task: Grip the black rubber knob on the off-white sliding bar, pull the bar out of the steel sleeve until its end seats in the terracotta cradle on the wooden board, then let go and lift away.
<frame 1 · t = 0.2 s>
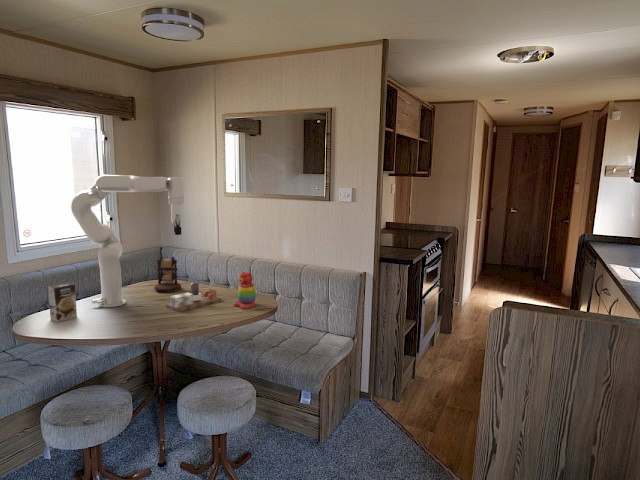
hand: (177, 233, 224), 37 cm above the table, tool pointing down, fingers open, 9 cm apart
stacking bear: (246, 306, 223), on the table
wooden spool holder: (168, 290, 250), on the table
wooden board: (194, 303, 224), on the table
slip tube: (187, 292, 221), point 7 cm above the table, slide at 0.0 cm
coffee box: (64, 318, 199), on the table
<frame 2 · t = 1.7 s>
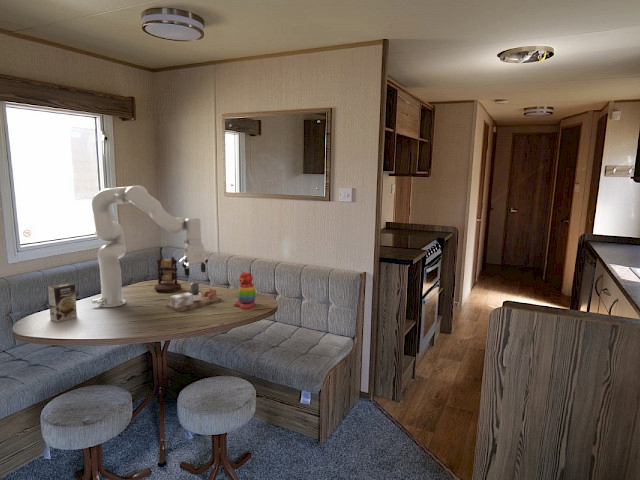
hand: (195, 273, 222), 16 cm above the table, tool pointing down, fingers open, 9 cm apart
nothing on the table moved.
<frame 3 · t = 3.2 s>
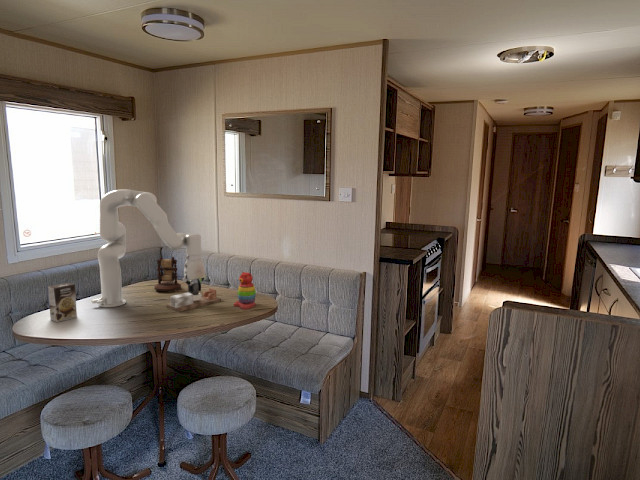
hand: (194, 291, 224), 7 cm above the table, tool pointing down, fingers closed on slip tube, 4 cm apart
slip tube: (187, 292, 221), point 7 cm above the table, slide at 0.0 cm, touching gripper
everything else where it was.
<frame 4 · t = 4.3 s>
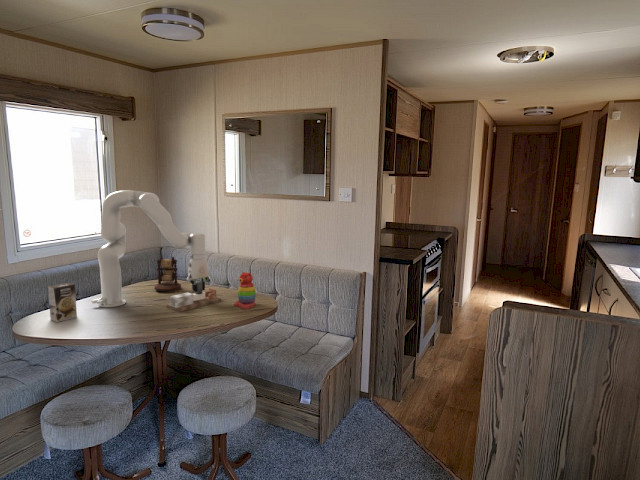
hand: (198, 290, 226), 7 cm above the table, tool pointing down, fingers closed on slip tube, 4 cm apart
slip tube: (192, 291, 222), point 7 cm above the table, slide at 2.4 cm, touching gripper
everything else where it was.
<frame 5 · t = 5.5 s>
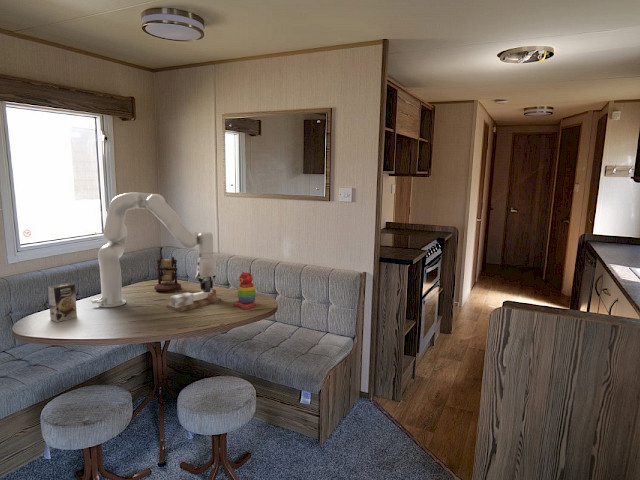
hand: (206, 288, 229), 7 cm above the table, tool pointing down, fingers closed on slip tube, 4 cm apart
slip tube: (200, 290, 226), point 7 cm above the table, slide at 7.4 cm, touching gripper
everything else where it was.
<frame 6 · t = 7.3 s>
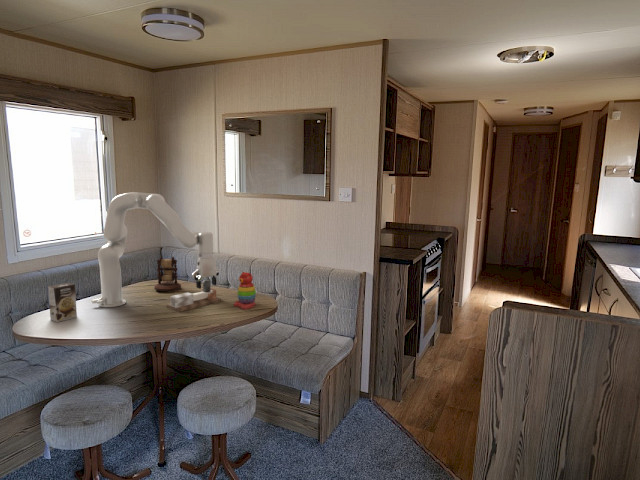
hand: (206, 286, 229), 8 cm above the table, tool pointing down, fingers open, 9 cm apart
slip tube: (200, 290, 226), point 7 cm above the table, slide at 7.5 cm
everything else where it was.
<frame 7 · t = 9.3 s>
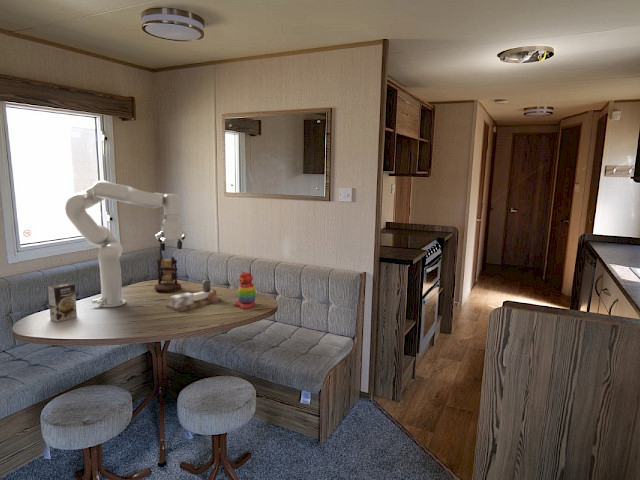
hand: (171, 249, 225), 28 cm above the table, tool pointing down, fingers open, 9 cm apart
nothing on the table moved.
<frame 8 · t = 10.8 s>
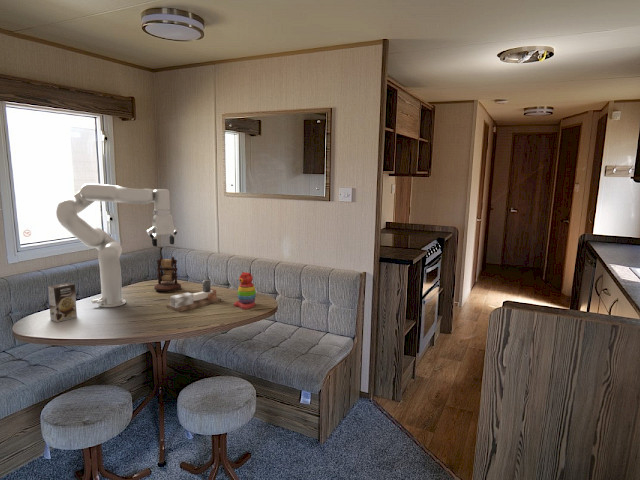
hand: (163, 245, 224), 30 cm above the table, tool pointing down, fingers open, 9 cm apart
nothing on the table moved.
at the end: slip tube slide at 7.5 cm; the gripper is holding nothing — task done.
